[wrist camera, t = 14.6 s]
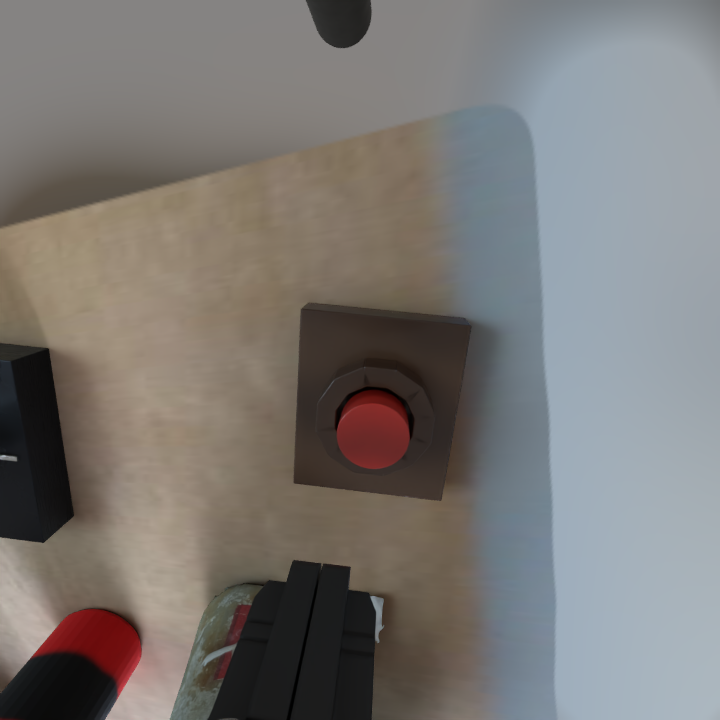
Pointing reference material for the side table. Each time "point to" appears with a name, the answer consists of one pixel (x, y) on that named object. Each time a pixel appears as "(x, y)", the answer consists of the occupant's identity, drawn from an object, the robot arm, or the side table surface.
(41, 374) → the panel
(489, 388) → the side table surface
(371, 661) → the robot arm
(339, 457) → the button block
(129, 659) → the soda can
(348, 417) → the button
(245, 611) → the bottle
